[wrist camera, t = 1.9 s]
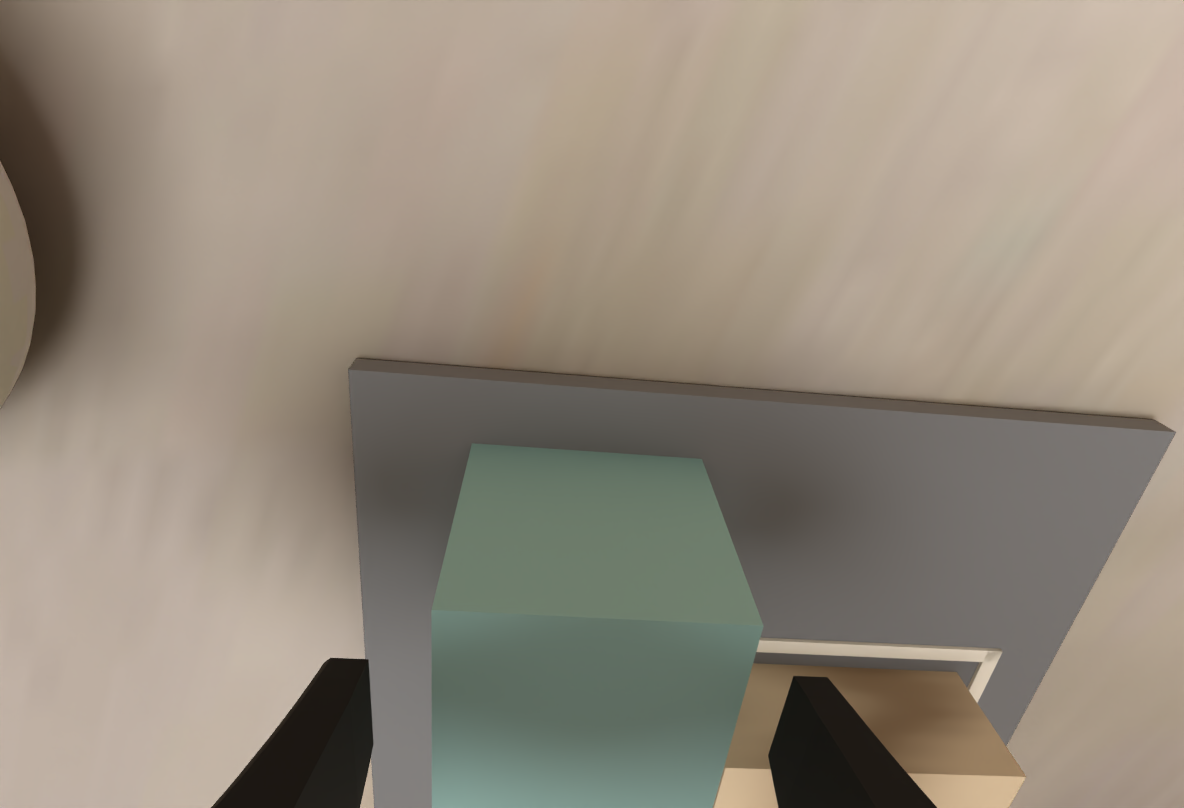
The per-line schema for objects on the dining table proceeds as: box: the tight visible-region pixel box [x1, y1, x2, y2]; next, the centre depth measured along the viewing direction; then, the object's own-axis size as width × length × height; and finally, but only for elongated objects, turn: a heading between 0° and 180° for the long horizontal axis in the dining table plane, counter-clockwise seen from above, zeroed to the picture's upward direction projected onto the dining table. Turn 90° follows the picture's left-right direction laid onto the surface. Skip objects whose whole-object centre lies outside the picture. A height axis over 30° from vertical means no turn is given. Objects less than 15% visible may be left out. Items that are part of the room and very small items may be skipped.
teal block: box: [431, 443, 763, 808], centre depth 13 cm, size 5×5×5 cm
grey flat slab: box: [348, 358, 1176, 808], centre depth 18 cm, size 18×16×1 cm
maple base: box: [713, 663, 1026, 808], centre depth 18 cm, size 7×7×3 cm
